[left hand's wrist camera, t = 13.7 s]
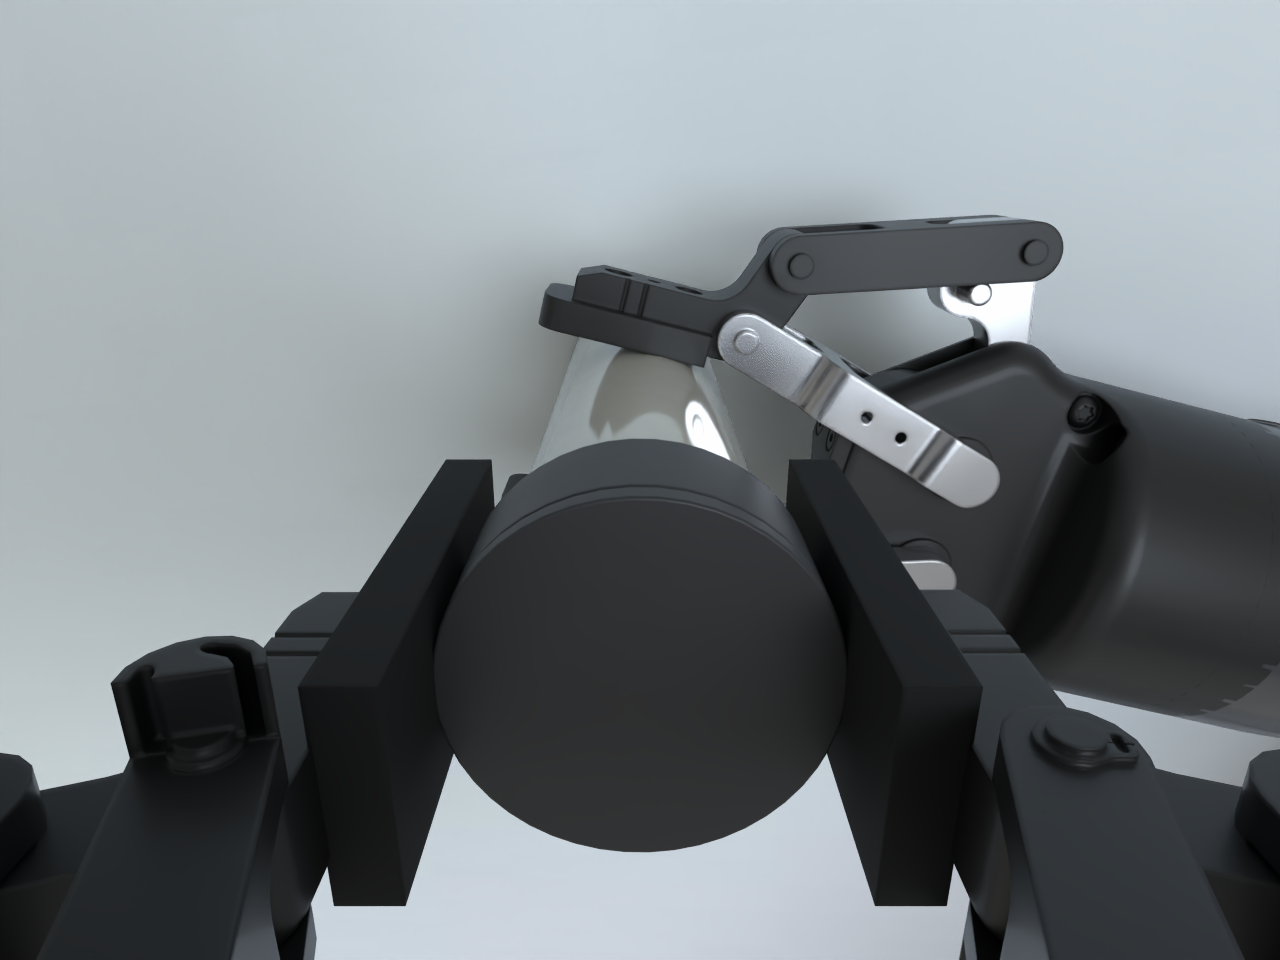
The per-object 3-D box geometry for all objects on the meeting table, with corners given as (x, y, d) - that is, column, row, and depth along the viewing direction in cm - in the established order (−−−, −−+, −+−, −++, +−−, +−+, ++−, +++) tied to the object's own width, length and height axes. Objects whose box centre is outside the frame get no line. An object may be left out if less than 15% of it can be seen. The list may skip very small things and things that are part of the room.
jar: (661, 272, 25) (695, 446, 10) (733, 389, 26) (864, 705, 11) (545, 348, 26) (407, 619, 11) (620, 457, 27) (594, 843, 12)
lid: (395, 613, 12) (347, 702, 10) (627, 360, 11) (624, 405, 9) (651, 799, 13) (652, 913, 11) (886, 591, 12) (936, 678, 10)
